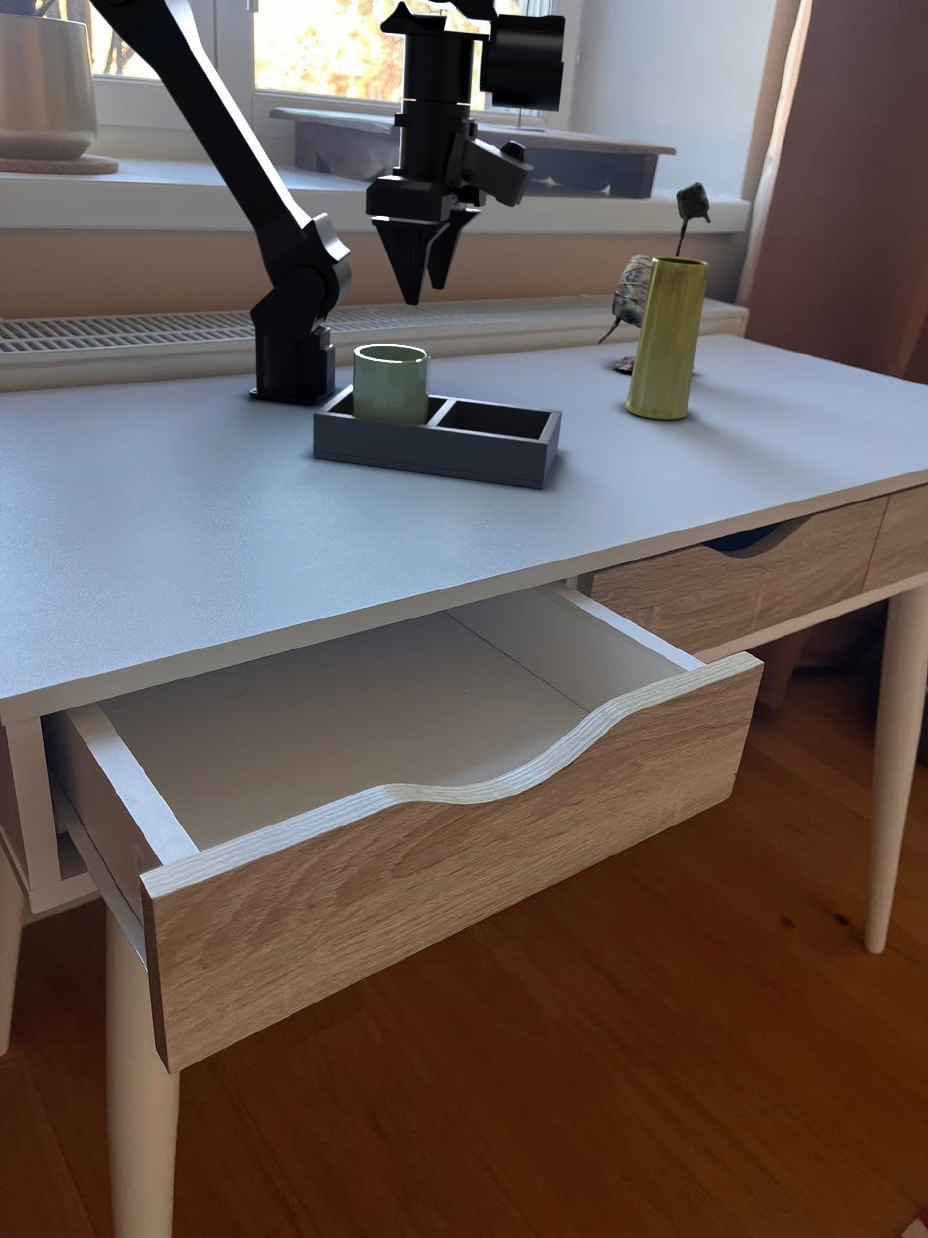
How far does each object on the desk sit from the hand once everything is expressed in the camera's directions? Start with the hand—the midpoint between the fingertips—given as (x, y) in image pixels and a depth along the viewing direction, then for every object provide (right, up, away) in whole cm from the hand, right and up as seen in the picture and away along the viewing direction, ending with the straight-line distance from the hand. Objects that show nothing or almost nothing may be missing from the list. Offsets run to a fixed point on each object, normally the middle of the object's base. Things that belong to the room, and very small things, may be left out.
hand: (425, 296), depth 90 cm
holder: (+1, -16, -8) cm, 18 cm away
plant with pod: (+24, -1, +25) cm, 35 cm away
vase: (+22, -9, +9) cm, 26 cm away
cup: (-3, -14, -8) cm, 16 cm away
